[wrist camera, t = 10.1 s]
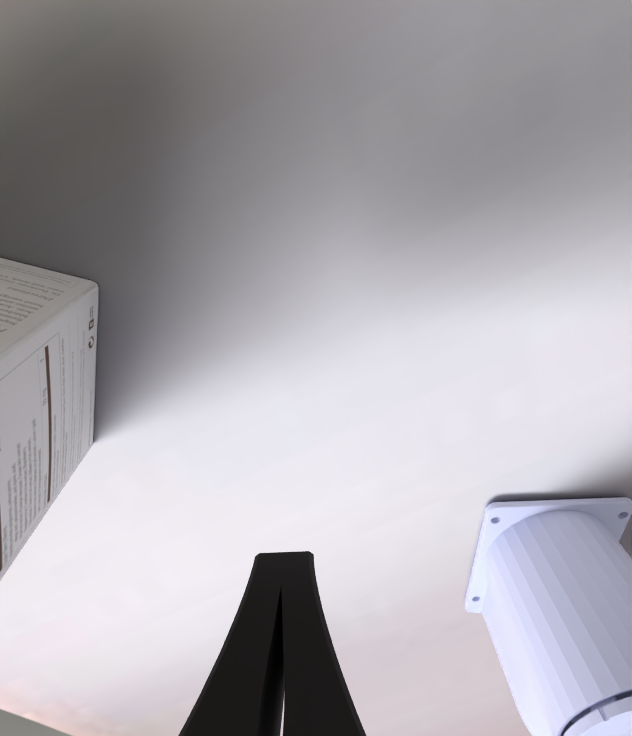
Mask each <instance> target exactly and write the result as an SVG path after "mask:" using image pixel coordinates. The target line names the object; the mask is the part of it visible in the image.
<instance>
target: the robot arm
mask: <svg viewBox="0 0 632 736" xmlns="http://www.w3.org/2000/svg"><path fill="white" fill-rule="evenodd" d="M631 515H632V500H631V499H629V498H626V497H618V498H592V499H566V500H540V501H513V502H494V503H491V504H489V505H488V506H487V507H486V510H485V514H484V519H483V523H482V527H481V532H480V536H479V541H478V545H477V550H476V554H475V558H474V563H473V567H472V572H471V576H470V580H469V585H468V589H467V594H466V598H465V603H464V606H465V609H466V611H467V612H470V613H482V614H483V617H484V620H485V622H486V625H487V628H488V630H489V633H490V636H491V638H492V641H493V644H494V647H495V649H496V652H497V655H498V657H499V660H500V663H501V666H502V668H503V671H504V674H505V676H506V679H507V682H508V684H509V687H510V690H511V693H512V695H513V698H514V701H515V703H516V706H517V709H518V711H519V713H520V716H521V718H522V720H523V722H524V724H525V725H526V727H527V728H528V730H529V732H530V733H531V734H532V736H632V558H631V557H630V556H629V554H628V553H627V552H626V550H625V549H624V548H623V547H622V545H621V544H620V543H619V541H620V539H621V536H622V534H623V532H624V530H625V528H626V526H627V523H628V521H629V519H630V517H631ZM284 690H285V694H284ZM283 700H284V725H283V736H366V734H365V731H364V729H363V727H362V724H361V722H360V719H359V717H358V714H357V712H356V709H355V706H354V704H353V701H352V699H351V696H350V693H349V690H348V688H347V685H346V682H345V679H344V677H343V674H342V671H341V668H340V665H339V662H338V659H337V656H336V653H335V650H334V647H333V644H332V640H331V637H330V634H329V630H328V627H327V624H326V620H325V617H324V613H323V609H322V605H321V601H320V596H319V592H318V587H317V582H316V576H315V568H314V555H313V554H312V553H311V552H309V551H305V552H279V553H259V554H258V555H257V556H255V560H254V564H253V568H252V571H251V574H250V578H249V581H248V584H247V587H246V590H245V592H244V595H243V598H242V600H241V603H240V606H239V608H238V611H237V614H236V616H235V618H234V621H233V623H232V626H231V628H230V630H229V633H228V635H227V638H226V640H225V642H224V645H223V647H222V649H221V651H220V654H219V656H218V658H217V660H216V662H215V664H214V666H213V669H212V671H211V673H210V675H209V677H208V679H207V681H206V683H205V685H204V687H203V689H202V692H201V694H200V696H199V698H198V700H197V702H196V704H195V705H194V707H193V709H192V711H191V713H190V715H189V717H188V719H187V721H186V723H185V725H184V727H183V728H182V730H181V732H180V734H179V736H280V729H281V720H282V710H283Z"/></svg>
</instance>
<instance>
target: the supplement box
mask: <svg viewBox="0 0 632 736" xmlns="http://www.w3.org/2000/svg"><path fill="white" fill-rule="evenodd" d="M98 294H99V287H98V285H97V283H95V282H93V281H90V280H87V279H83V278H79V277H75V276H71V275H67V274H63V273H59V272H55V271H51V270H47V269H43V268H39V267H35V266H31V265H27V264H23V263H19V262H15V261H11V260H7V259H3V258H0V580H1V579H2V577H3V576H4V574H5V573H6V571H7V570H8V568H9V567H10V565H11V564H12V562H13V561H14V559H15V558H16V556H17V555H18V554H19V552H20V551H21V549H22V548H23V546H24V545H25V543H26V542H27V540H28V539H29V537H30V536H31V534H32V533H33V532H34V530H35V529H36V527H37V526H38V524H39V523H40V521H41V520H42V518H43V517H44V515H45V514H46V512H47V511H48V509H49V508H50V506H51V505H52V503H53V502H54V500H55V499H56V498H57V496H58V495H59V493H60V492H61V490H62V489H63V487H64V486H65V484H66V483H67V481H68V480H69V478H70V477H71V475H72V474H73V472H74V471H75V469H76V468H77V467H78V465H79V464H80V462H81V461H82V459H83V458H84V456H85V455H86V454H87V452H88V451H89V449H90V448H91V446H92V444H93V427H94V401H95V374H96V346H97V321H98Z"/></svg>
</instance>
